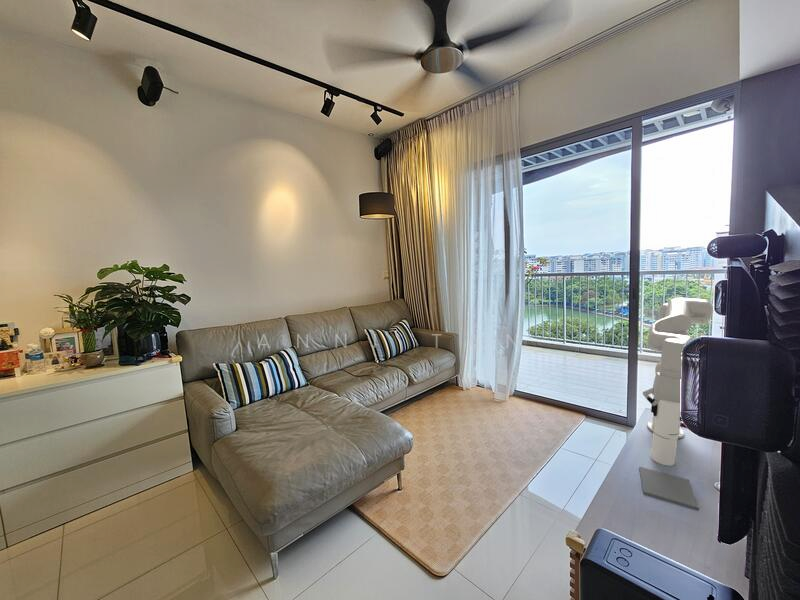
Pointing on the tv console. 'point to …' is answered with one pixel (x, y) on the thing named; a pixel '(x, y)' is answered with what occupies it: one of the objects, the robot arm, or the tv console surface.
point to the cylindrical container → (665, 432)
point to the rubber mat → (668, 487)
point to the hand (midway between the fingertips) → (667, 416)
